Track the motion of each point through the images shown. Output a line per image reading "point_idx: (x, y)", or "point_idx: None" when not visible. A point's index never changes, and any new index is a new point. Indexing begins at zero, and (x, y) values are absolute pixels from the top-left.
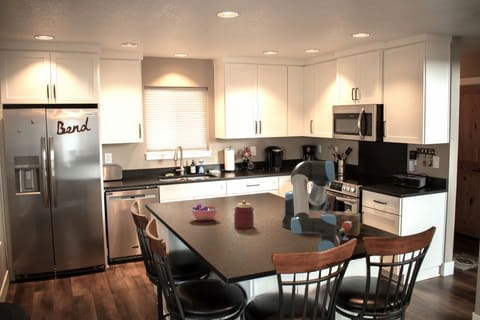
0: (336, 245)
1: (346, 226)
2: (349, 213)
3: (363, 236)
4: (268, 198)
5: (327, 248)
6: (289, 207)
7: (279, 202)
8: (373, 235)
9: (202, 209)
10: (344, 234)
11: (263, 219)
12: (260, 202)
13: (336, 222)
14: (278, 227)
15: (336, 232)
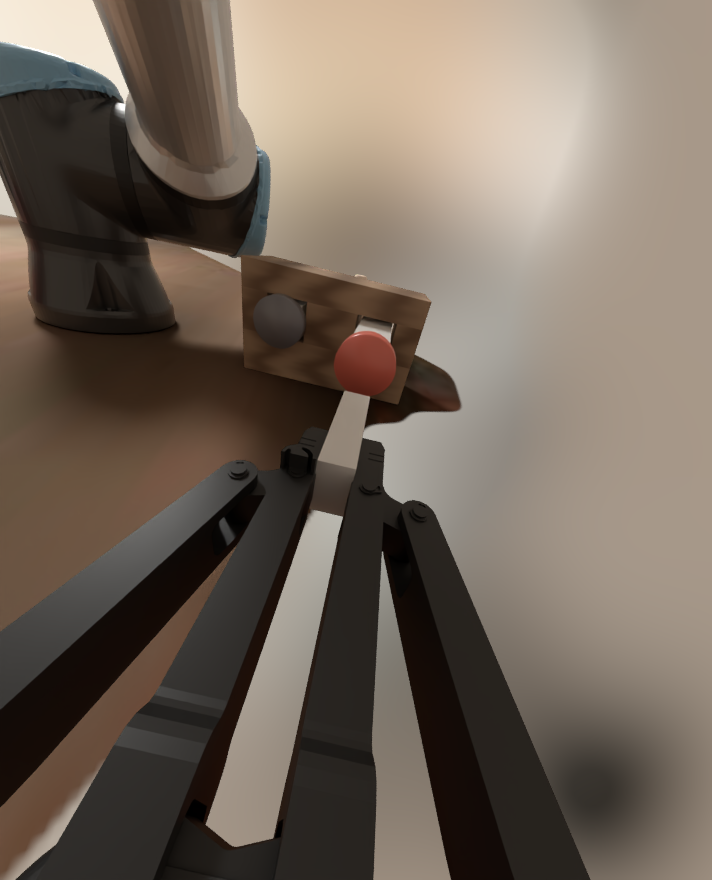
0: None
1: (369, 364)
2: (376, 284)
3: (423, 409)
4: (169, 248)
5: None
6: (14, 181)
7: (185, 257)
8: (454, 402)
9: None
10: (423, 620)
11: (18, 272)
12: None
13: (305, 324)
14: (2, 312)
15: (259, 562)
